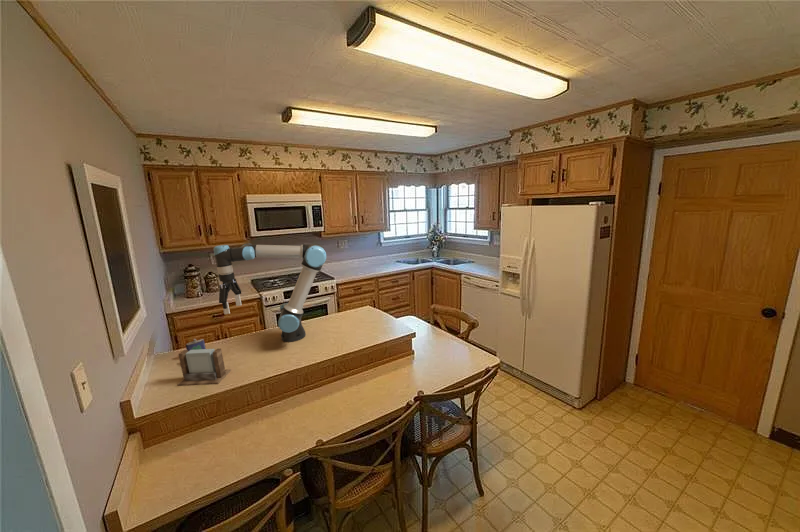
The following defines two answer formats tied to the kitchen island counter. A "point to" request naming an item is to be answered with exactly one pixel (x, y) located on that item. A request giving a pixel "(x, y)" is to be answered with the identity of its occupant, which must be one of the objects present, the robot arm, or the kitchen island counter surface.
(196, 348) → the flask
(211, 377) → the track frame
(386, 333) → the kitchen island counter surface
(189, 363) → the door panel
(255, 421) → the kitchen island counter surface
